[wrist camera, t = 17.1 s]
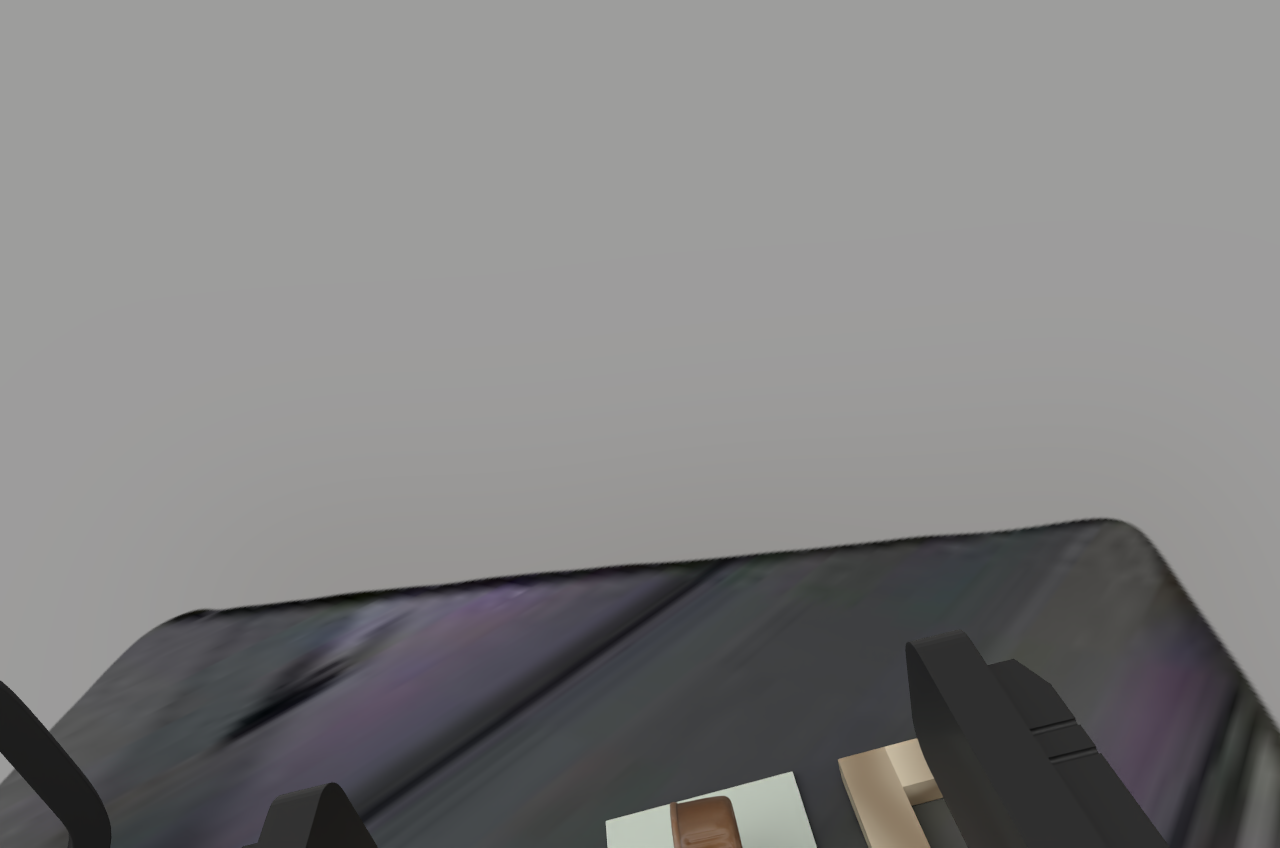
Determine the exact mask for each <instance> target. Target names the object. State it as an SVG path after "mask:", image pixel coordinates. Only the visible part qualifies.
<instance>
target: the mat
mask: <svg viewBox="0 0 1280 848" xmlns="http://www.w3.org/2000/svg"><path fill="white" fill-rule="evenodd" d="M714 796H726V797H728V798H729V799H730V800H731V803H732V806H733V810H734V814H735V818H736V822H737V826H738V830H739V834H740V839H741V843H742V847H743V848H817V846H816V843H815V840H814V837H813V834H812V831H811V828H810V824H809V821H808V818H807V815H806V812H805V809H804V806H803V803H802V800H801V796H800V793H799V790H798V787H797V784H796V781H795V778H794V775H793V772H788V773H785V774H781V775H777V776H773V777H770V778H766V779H762V780H758V781H755V782H751V783H747V784H743V785H740V786H736V787H732V788H728V789H724V790H721V791H717V792H713V793H709V794H706V795H702V796H698V797H694V798H691V799H687V800H683V801H679V802H676V803H683V802H688V801H693V800H698V799H703V798H708V797H714ZM606 831H607V846H608V848H674V844H673V835H672V828H671V819H670V804H668V805H664V806H660V807H657V808H653V809H649V810H645V811H642V812H638V813H634V814H630V815H627V816H623V817H619V818H615V819H612V820H608V821H606Z"/></svg>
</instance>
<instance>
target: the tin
mask: <svg viewBox="0 0 1280 848" xmlns="http://www.w3.org/2000/svg"><path fill="white" fill-rule="evenodd" d="M670 819H671V828H672V835H673V844H674V848H743V847H742V843H741V839H740V834H739V830H738V826H737V822H736V818H735V814H734V810H733V806H732V803H731V800H730V799H729V798H728V797H726V796H714V797H708V798H703V799H698V800H693V801H688V802H683V803H676V802H671V803H670Z"/></svg>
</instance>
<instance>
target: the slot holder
mask: <svg viewBox="0 0 1280 848" xmlns="http://www.w3.org/2000/svg"><path fill="white" fill-rule="evenodd" d="M838 763H839V767H840V772H841V777H842V780H843V783H844V786H845V788H846V791H847V794H848V796H849V799H850V801H851V804H852V807H853V809H854V812H855V814H856V817H857V820H858V822H859V825H860V827H861V830H862V833H863V835H864V838H865V840H866V843H867V846H868V848H930V846H929V843H928V841H927V839H926V837H925V835H924V832H923V830H922V828H921V826H920V824H919V822H918V819H917V817H916V815H915V813H914V811H913V808H912V806H913V805H917V804H921V803H925V802H929V801H932V800H936V799H940V798H943V796H942V794H941V792H940V790H939V788H938V786H937V783H936V781H935V779H934V777H933V775H932V773H931V771H930V769H929V767H928V765H927V763H926V761H925V758H924V756H923V753H922V751H921V748H920V745H919V742H918V739H917V738H916V739H912V740H909V741H905V742H901V743H897V744H894V745H890V746H886V747H882V748H879V749H875V750H871V751H867V752H863V753H860V754H856V755H852V756H848V757H845V758H841V759H838Z"/></svg>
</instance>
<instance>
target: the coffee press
mask: <svg viewBox="0 0 1280 848" xmlns="http://www.w3.org/2000/svg"><path fill="white" fill-rule="evenodd" d="M0 752H1V753H2V754H3V755H4V757H5V758H6V759H7V760H8V761H9V762H10V763H11V764H12V766H13V767H14V768H15V769H16V770H17V771H18V772H19V774H20V775H21V776H22V777H23V778H24V779H25V780H26V781H27V783H28V784H29V785H30V786H31V787H32V788H33V789H34V790H35V792H36V793H37V794H38V795H39V796H40V797H41V798H42V800H43V801H44V802H45V803H46V804H47V805H48V806H49V808H50V809H51V810H52V811H53V812H54V813H55V814H56V816H57V817H58V818H59V819H60V820H61V821H62V823H63V824H64V825H65V827H66V828H67V830H68V832H69V843H68V848H110V844H111V826H110V822H109V818H108V815H107V812H106V810H105V808H104V805H103V803H102V800H101V799H100V797H99V795H98V793H97V792H96V790H95V789H94V787H93V786H92V784H91V783H90V782H89V780H88V779H87V778H86V776H85V775H84V774H83V772H82V771H81V770H80V769H79V767H78V766H77V765H76V764H75V762H74V761H73V760H72V759H71V758H70V756H69V755H68V754H67V753H66V752H65V750H64V749H63V748H62V747H61V746H60V744H59V743H58V742H57V741H56V740H55V738H54V737H53V736H52V735H51V734H50V732H49V731H48V730H47V729H46V728H45V727H44V725H43V724H42V723H41V722H40V721H39V720H38V718H37V717H36V716H35V715H34V714H33V713H32V712H31V710H30V709H29V708H28V707H27V706H26V705H25V704H24V703H23V702H22V701H21V699H19V697H18V696H17V695H16V694H15V693H14V692H13V691H12V690H11V689H10V688H8V687H7V686H6V685H5V684H4V683H3V682H2V681H0Z"/></svg>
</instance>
